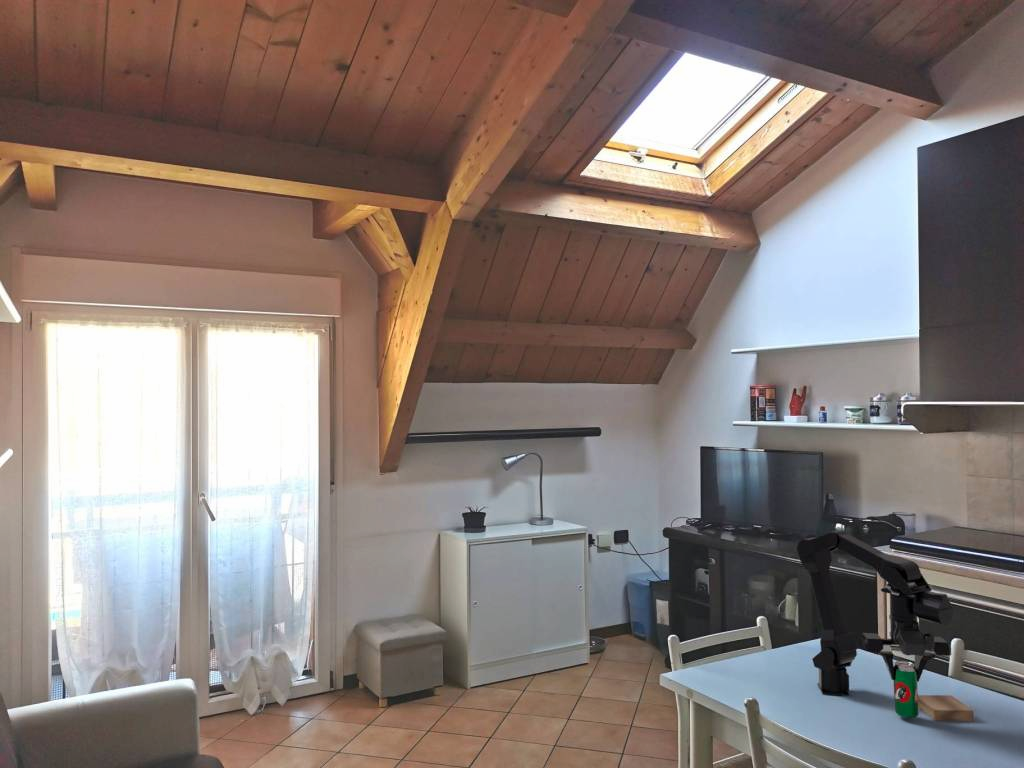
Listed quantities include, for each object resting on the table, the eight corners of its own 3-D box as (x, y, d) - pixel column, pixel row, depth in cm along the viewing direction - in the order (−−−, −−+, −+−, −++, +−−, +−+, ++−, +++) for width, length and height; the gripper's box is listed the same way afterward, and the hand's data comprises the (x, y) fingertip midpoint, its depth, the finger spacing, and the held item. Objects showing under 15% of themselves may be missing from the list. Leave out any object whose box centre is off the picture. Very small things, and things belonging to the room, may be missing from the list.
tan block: (935, 720, 176) (934, 710, 176) (915, 705, 185) (914, 695, 185) (973, 721, 175) (973, 710, 175) (951, 705, 184) (951, 695, 184)
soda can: (921, 719, 174) (919, 668, 174) (898, 718, 175) (896, 667, 175) (914, 711, 179) (912, 660, 179) (892, 709, 180) (889, 659, 180)
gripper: (870, 622, 172) (872, 690, 171) (959, 626, 168) (961, 696, 167) (858, 608, 182) (859, 673, 182) (941, 612, 179) (942, 678, 178)
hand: (904, 680), depth 177 cm, fingers closed on soda can, 5 cm apart
